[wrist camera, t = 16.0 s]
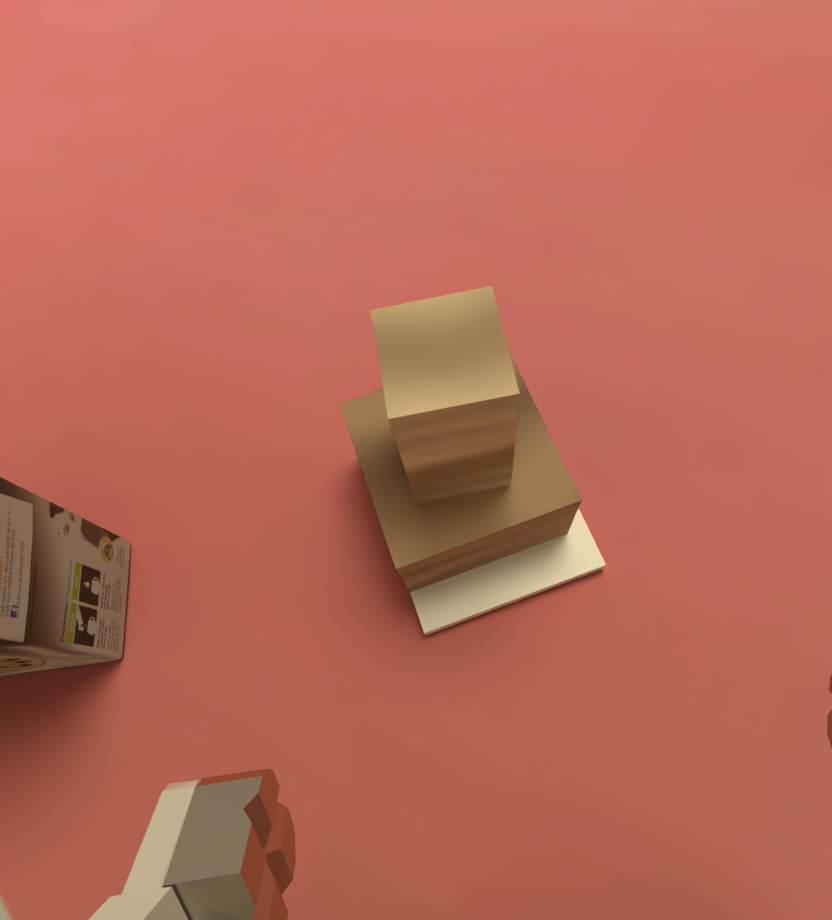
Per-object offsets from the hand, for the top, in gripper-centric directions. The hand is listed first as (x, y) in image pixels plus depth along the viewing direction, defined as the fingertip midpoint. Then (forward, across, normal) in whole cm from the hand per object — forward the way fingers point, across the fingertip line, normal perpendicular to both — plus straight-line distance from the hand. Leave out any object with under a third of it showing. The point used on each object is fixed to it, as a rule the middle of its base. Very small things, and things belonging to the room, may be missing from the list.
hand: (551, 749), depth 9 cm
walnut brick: (+22, 0, +6) cm, 23 cm away
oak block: (+18, 0, +2) cm, 19 cm away
